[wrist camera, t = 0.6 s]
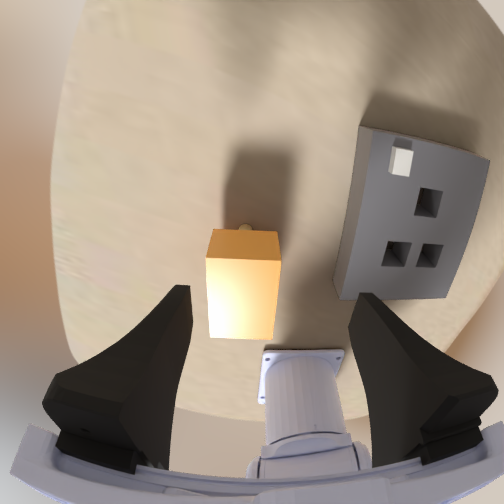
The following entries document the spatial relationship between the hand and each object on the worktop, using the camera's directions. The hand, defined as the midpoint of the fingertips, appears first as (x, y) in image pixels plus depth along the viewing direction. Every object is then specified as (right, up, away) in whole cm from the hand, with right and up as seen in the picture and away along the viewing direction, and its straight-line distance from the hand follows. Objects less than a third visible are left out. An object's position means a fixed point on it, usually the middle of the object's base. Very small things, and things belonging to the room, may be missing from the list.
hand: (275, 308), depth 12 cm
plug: (-2, +2, +10) cm, 10 cm away
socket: (+11, +5, +8) cm, 14 cm away
